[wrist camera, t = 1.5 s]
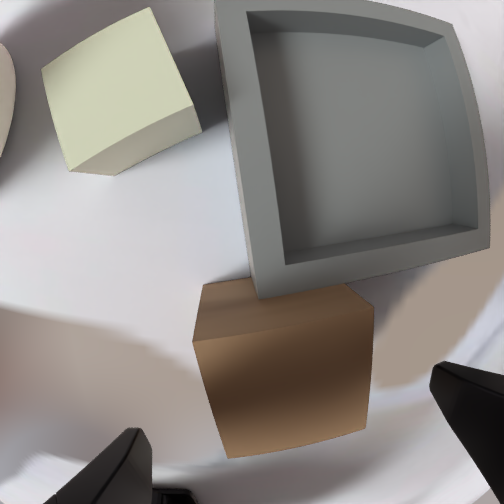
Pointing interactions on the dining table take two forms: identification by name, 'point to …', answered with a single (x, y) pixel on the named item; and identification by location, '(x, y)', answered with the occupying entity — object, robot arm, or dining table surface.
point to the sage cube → (118, 98)
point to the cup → (6, 94)
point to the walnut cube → (283, 364)
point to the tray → (349, 140)
